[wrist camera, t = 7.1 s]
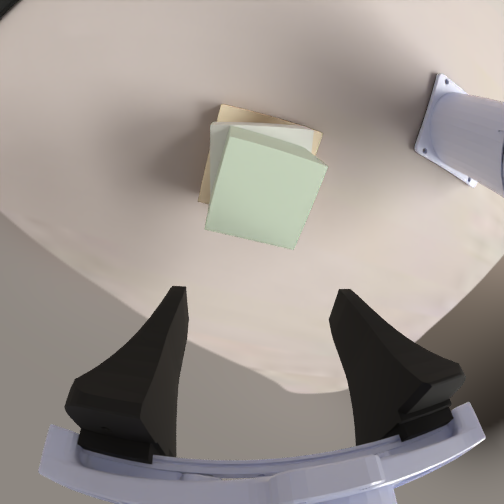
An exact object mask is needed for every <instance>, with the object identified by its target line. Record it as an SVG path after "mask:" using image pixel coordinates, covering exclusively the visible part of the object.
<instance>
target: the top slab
mask: <svg viewBox="0 0 504 504" xmlns="http://www.w3.org/2000/svg"><path fill="white" fill-rule="evenodd" d="M230 125H231V126H235V127H239V128H242V129H246V130H250V131H253V132H257V133H260V134H264V135H267V136H270V137H274V138H277V139H280V140H283V141H286V142H289V143H292V144H295V145H298V146H301V147H304V148H306V149H307V150H308V151H309V152H311V153H312V143H313V133H314V130H312V129H310V128H308V127H306V126H298V125H286V124H272V123H253V122H212V124H211V125H210V197H211V193H212V189H213V185H214V181H215V178H216V174H217V170H218V167H219V163H220V160H221V156H222V152H223V149H224V146H225V142H226V139H227V135H228V132H229V129H230Z"/></svg>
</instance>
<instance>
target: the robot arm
mask: <svg viewBox="0 0 504 504" xmlns="http://www.w3.org/2000/svg"><path fill="white" fill-rule="evenodd" d="M445 80H446V84H445ZM414 148H415V151H416V152H417V153H418V154H420V155H422V156H423V157H425V158H427V159H429V160H430V161H432V162H434V163H435V164H437V165H439V166H440V167H442V168H443V169H445V170H447V171H448V172H450V173H451V174H453V175H454V176H456V177H458V178H459V179H461V180H462V181H463V182H465V183H466V184H468V185H469V186H471V187H473V188H474V187H475V186H476V184H477V182H479V183H481V184H482V185H484V186H486V187H487V188H489V189H491V190H492V191H494V192H496V193H497V194H499V195H500V196H502V197H504V102H501V101H497V100H493V99H489V98H484V97H479V96H474V95H468V94H467V93H466V92H465V91H464V90H462V89H461V88H460V87H459V86H458V85H456V84H455V83H454V82H453V81H452V80H450V79H449V78H448V77H447V76H445V75H444V74H441V73H439V74H437V76H436V80H435V84H434V87H433V91H432V95H431V98H430V101H429V105H428V108H427V111H426V114H425V117H424V120H423V123H422V126H421V129H420V132H419V135H418V138H417V141H416V144H415V147H414ZM424 148H425V151H424V152H423V149H424ZM188 322H189V316H188V306H187V294H186V287H182V286H172V287H171V288H170V290H169V291H168V293H167V294H166V296H165V297H164V299H163V300H162V302H161V303H160V305H159V306H158V307H157V309H156V310H155V311H154V313H153V314H152V315H151V317H150V318H149V319H148V320H147V321H146V323H145V324H144V325H143V326H142V327H141V329H140V330H139V331H138V332H137V333H136V334H135V335H134V336H133V337H132V338H131V339H130V340H129V341H128V342H127V343H126V344H125V345H124V346H123V347H122V348H120V349H119V350H118V351H117V352H116V353H115V354H113V355H112V356H111V357H110V358H108V359H107V360H105V361H104V362H103V363H101V364H100V365H99V366H97V367H95V368H94V369H92V370H91V371H89V372H87V373H85V374H84V375H82V376H80V377H78V378H76V379H75V381H74V383H73V385H72V387H71V389H70V392H69V395H68V398H67V401H66V404H65V410H66V412H67V414H68V415H69V416H70V417H71V418H72V419H73V420H74V422H75V423H76V424H77V425H79V427H80V428H81V431H80V435H79V434H78V433H76V432H74V431H71V430H68V429H65V428H62V427H59V426H56V425H53V424H51V425H50V427H49V430H48V434H47V438H46V441H45V445H44V449H43V453H42V457H41V462H40V466H39V471H38V472H39V474H41V475H42V476H45V477H46V478H48V479H50V480H52V481H54V482H56V483H58V484H60V485H62V486H64V487H66V488H69V489H72V490H74V491H77V492H79V493H82V494H85V495H88V496H91V497H94V498H98V499H101V500H104V501H108V502H111V503H115V504H397V500H396V496H395V492H394V488H396V487H399V486H401V485H403V484H406V483H408V482H410V481H413V480H415V479H417V478H420V477H422V476H424V475H426V474H428V473H430V472H432V471H434V470H436V469H438V468H440V467H442V466H444V465H445V464H447V463H449V462H451V461H453V460H455V459H456V458H458V457H460V456H461V455H463V454H464V453H466V452H467V451H469V450H470V449H472V448H473V447H474V446H476V445H477V444H479V443H480V442H481V441H483V440H484V439H485V435H484V432H483V430H482V428H481V426H480V423H479V421H478V419H477V417H476V415H475V413H474V410H473V408H472V406H471V404H470V403H469V402H467V403H465V404H463V405H461V406H458V407H456V408H455V409H453V410H452V411H450V409H449V406H451V401H450V398H451V396H452V395H453V394H454V393H455V392H456V391H457V390H458V389H459V388H460V387H461V386H462V385H463V383H464V381H465V377H466V376H465V374H464V372H463V371H462V369H461V367H460V365H459V364H458V363H455V362H453V361H450V360H448V359H445V358H443V357H440V356H438V355H436V354H434V353H432V352H430V351H428V350H426V349H424V348H423V347H421V346H419V345H418V344H416V343H414V342H413V341H411V340H410V339H408V338H407V337H405V336H404V335H403V334H401V333H400V332H398V331H397V330H396V329H395V328H393V327H392V326H391V325H390V324H388V323H387V322H386V321H385V320H384V319H383V318H381V317H380V316H379V315H378V314H377V313H376V312H375V311H374V310H373V309H372V308H370V307H369V306H368V305H367V304H366V303H365V302H364V301H363V300H362V299H361V298H360V297H359V296H358V295H357V294H355V293H354V292H353V291H352V290H351V289H339V291H338V294H337V297H336V300H335V303H334V306H333V309H332V312H331V315H330V318H329V323H330V328H331V333H332V337H333V340H334V343H335V346H336V349H337V352H338V354H339V357H340V360H341V363H342V366H343V368H344V371H345V374H346V378H347V381H348V386H349V391H350V396H351V402H352V408H353V415H354V424H355V437H356V446H355V447H350V448H345V449H341V450H335V451H330V452H324V453H319V454H312V455H304V456H296V457H287V458H277V459H262V460H202V459H187V458H176V417H177V416H176V415H177V397H178V384H179V377H180V371H181V366H182V360H183V356H184V351H185V345H186V341H187V333H188ZM221 478H250V479H238V480H222V479H221Z"/></svg>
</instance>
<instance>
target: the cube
mask: <svg viewBox="0 0 504 504" xmlns="http://www.w3.org/2000/svg"><path fill="white" fill-rule="evenodd" d="M327 168H328V166H327V165H325V164H324V163H323V162H322V161H321V160H319V159H318V158H317V157H316V156H314V155H313V154H312V153H311V152H309V151H308V150H307V149H306V148H304V147H301V146H298V145H295V144H292V143H289V142H286V141H283V140H280V139H277V138H274V137H270V136H267V135H264V134H260V133H257V132H253V131H250V130H246V129H242V128H239V127H235V126H231V125H230V129H229V132H228V135H227V139H226V142H225V146H224V149H223V152H222V156H221V160H220V163H219V167H218V170H217V174H216V178H215V181H214V185H213V189H212V193H211V197H210V202H209V207H208V213H207V218H206V224H205V230H209V231H213V232H218V233H222V234H227V235H231V236H235V237H240V238H244V239H248V240H253V241H257V242H261V243H266V244H270V245H274V246H278V247H283V248H287V249H291V250H294V248H295V246H296V243H297V241H298V239H299V236H300V234H301V232H302V229H303V227H304V225H305V222H306V220H307V218H308V215H309V213H310V210H311V208H312V206H313V203H314V201H315V198H316V196H317V193H318V191H319V188H320V186H321V183H322V181H323V179H324V176H325V174H326V171H327Z"/></svg>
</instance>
